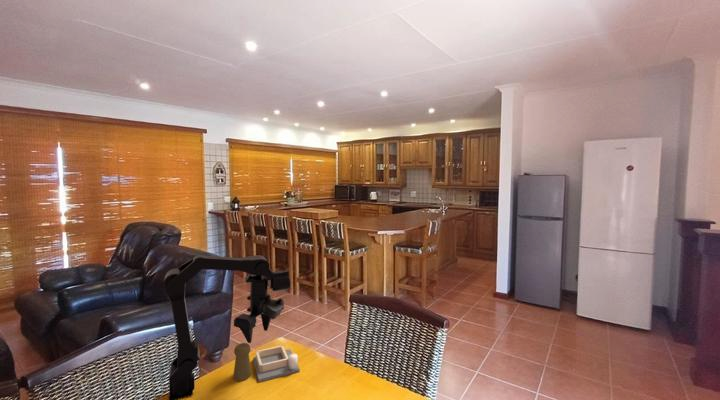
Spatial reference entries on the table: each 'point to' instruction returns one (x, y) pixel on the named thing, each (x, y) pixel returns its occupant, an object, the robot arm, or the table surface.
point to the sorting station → (275, 363)
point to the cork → (242, 362)
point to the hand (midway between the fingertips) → (257, 336)
